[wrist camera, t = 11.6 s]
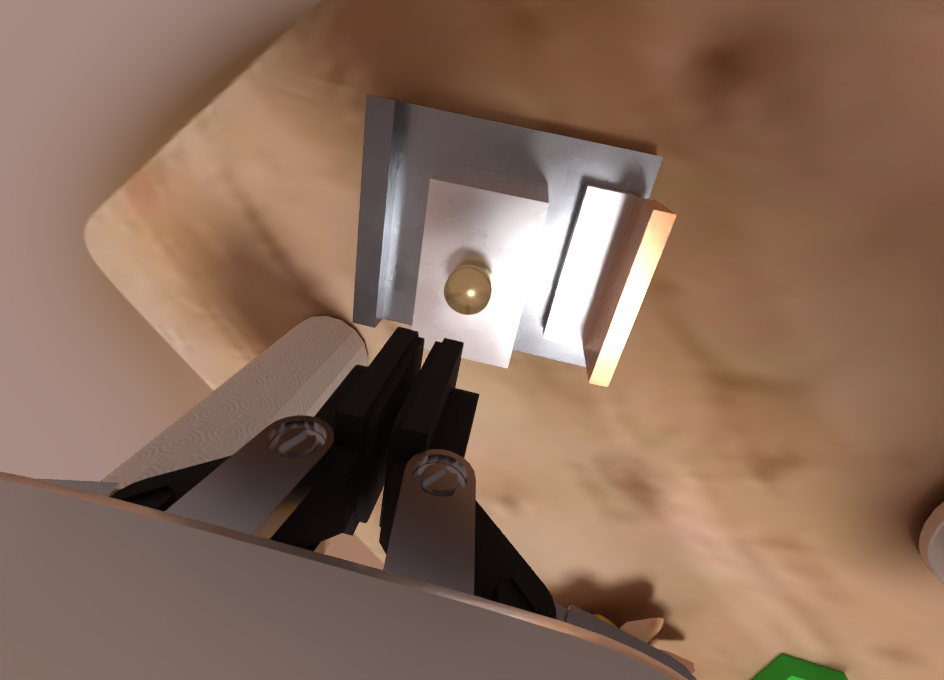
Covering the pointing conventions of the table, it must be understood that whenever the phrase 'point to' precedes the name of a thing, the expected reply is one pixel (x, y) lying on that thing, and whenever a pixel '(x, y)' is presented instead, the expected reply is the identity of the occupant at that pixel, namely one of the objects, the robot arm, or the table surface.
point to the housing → (477, 260)
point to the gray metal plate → (486, 148)
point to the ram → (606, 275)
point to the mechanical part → (797, 670)
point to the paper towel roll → (254, 399)
